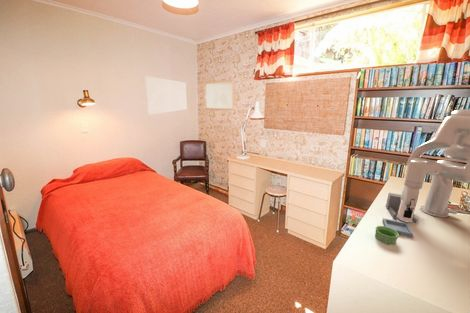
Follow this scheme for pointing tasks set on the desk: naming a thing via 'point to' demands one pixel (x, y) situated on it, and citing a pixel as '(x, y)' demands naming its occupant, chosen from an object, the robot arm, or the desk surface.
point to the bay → (395, 205)
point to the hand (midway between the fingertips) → (405, 214)
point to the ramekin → (386, 235)
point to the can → (401, 212)
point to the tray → (398, 227)
